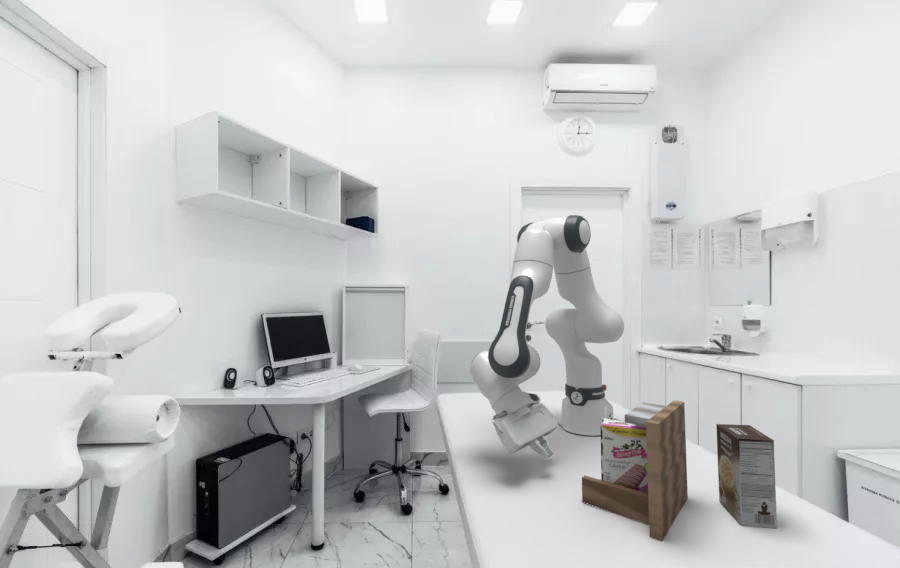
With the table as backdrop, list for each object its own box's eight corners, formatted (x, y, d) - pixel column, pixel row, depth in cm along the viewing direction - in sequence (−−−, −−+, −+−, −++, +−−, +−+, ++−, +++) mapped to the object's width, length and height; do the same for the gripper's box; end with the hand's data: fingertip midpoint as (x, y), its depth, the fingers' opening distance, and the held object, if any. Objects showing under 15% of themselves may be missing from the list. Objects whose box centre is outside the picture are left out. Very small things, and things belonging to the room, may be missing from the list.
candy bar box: (601, 505, 81) (599, 423, 82) (603, 494, 86) (600, 417, 87) (663, 517, 77) (660, 430, 77) (662, 505, 81) (659, 423, 82)
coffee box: (717, 501, 82) (714, 422, 83) (752, 504, 81) (749, 424, 82) (740, 526, 73) (736, 437, 74) (780, 529, 72) (775, 439, 73)
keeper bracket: (610, 476, 95) (608, 391, 96) (687, 498, 84) (684, 401, 85) (573, 509, 80) (571, 408, 81) (662, 541, 69) (658, 424, 70)
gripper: (496, 409, 92) (535, 463, 85) (540, 393, 107) (576, 438, 101) (481, 424, 95) (517, 478, 88) (526, 407, 110) (560, 451, 103)
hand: (549, 456), depth 94 cm, fingers closed
